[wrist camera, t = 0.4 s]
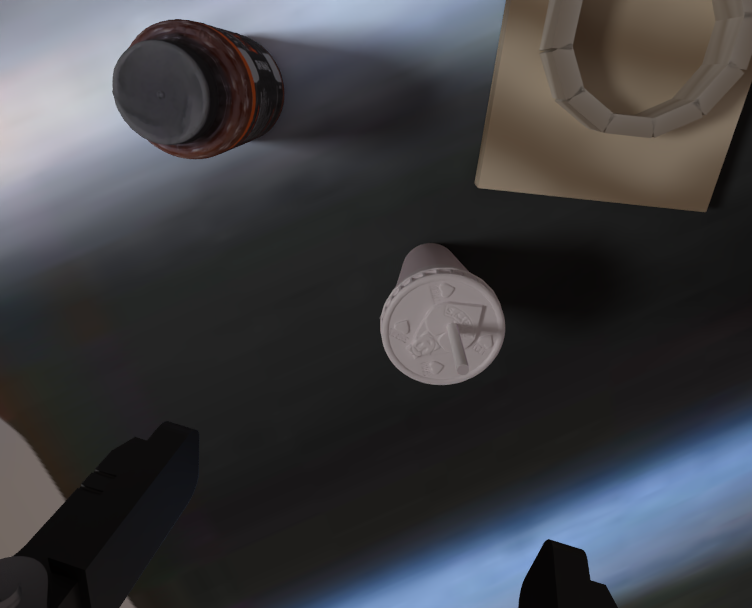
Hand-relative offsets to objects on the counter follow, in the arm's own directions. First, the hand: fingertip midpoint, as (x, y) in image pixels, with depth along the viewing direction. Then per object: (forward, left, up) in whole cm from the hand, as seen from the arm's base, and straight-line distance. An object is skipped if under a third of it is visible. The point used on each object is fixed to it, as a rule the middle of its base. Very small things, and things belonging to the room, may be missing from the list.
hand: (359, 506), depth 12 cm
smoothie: (+3, +4, -25) cm, 25 cm away
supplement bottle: (-7, -9, -25) cm, 28 cm away
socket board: (-12, +13, -25) cm, 30 cm away
